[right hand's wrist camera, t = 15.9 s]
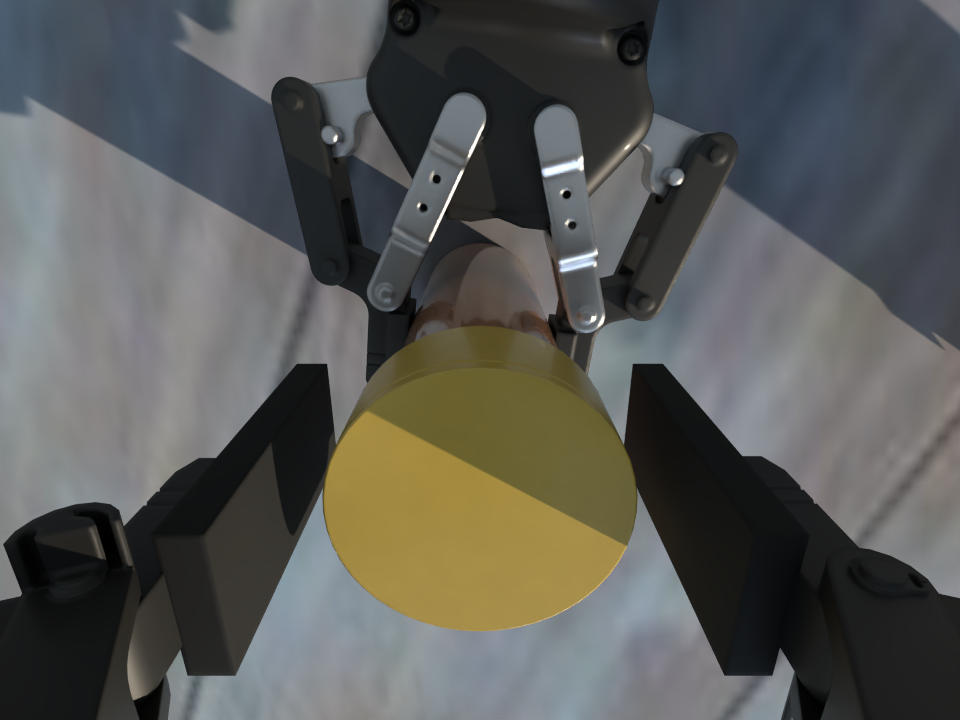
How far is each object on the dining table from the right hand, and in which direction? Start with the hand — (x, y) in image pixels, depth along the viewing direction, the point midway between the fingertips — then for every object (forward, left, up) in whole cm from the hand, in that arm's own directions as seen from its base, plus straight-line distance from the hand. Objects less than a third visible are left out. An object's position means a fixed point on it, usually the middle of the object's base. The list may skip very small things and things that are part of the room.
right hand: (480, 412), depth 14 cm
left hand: (0, -3, -5) cm, 6 cm away
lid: (0, 0, +4) cm, 4 cm away
